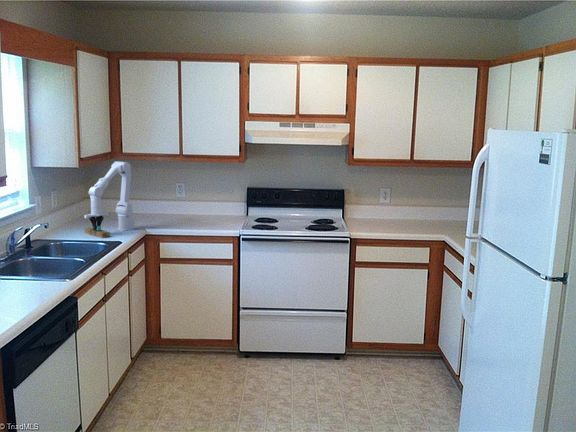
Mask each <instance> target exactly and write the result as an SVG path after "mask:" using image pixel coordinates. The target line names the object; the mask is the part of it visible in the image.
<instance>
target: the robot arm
mask: <svg viewBox="0 0 576 432" xmlns="http://www.w3.org/2000/svg"><path fill="white" fill-rule="evenodd" d="M131 170H132V165H131V164H130V162H127V161H118V160H116V161H114V162H113V163H112V164H111V168H109V170H108V171H107V173H106V174H105V176H104V177H101V178H98V181H97V182H96V183H95V184H94V186H91V187H90V188H89V190H88V192H87V194H88V195H89V198H90V213H88V214H84V219H89V221H90V222H91V225H92V226H93V229H96V225H99V226H101V225H102V222H103V221H104V219H105V218H104V217H108V215H109V213H108V212H102V201H101V200H102V198H101V197H102V196H103V194H104V190H105V189H106V188H107V187H108V185H109V183H110V181H111V179H112V178H113V177H115V175H116V174H119V175H120V176H121V183H120V184H121V186H120V199H119V201H117V204H116V207H115V214H116V215H117V219H118V220H117V221H118V222H117V223H118V227H117V228H115V230H118V231H121V232H124V231H131V230H136V228H135V218H134V216H133V215H132V214H133V212H134V210H133V204H132V203H131V202H130V195H131V182H132V181H131V180H132V171H131ZM101 227H102V226H101Z"/></svg>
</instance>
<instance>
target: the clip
mask: <svg viewBox="0 0 576 432" xmlns="http://www.w3.org/2000/svg"><path fill="white" fill-rule="evenodd" d="M92 228H93V226H92ZM93 230H97V231H101V230H102V226H99V225H97V224H96V229H93Z"/></svg>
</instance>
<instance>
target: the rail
mask: <svg viewBox="0 0 576 432" xmlns="http://www.w3.org/2000/svg"><path fill="white" fill-rule="evenodd" d="M83 229H84V230H83V231H84V234H86V235H90V236H93V237H96V238H97V237H98V238H101V239H104V238H110V236H111V233H110V231H106V230H103V229H101V231H97V230H93V228H92V227H85V228H83Z"/></svg>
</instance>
